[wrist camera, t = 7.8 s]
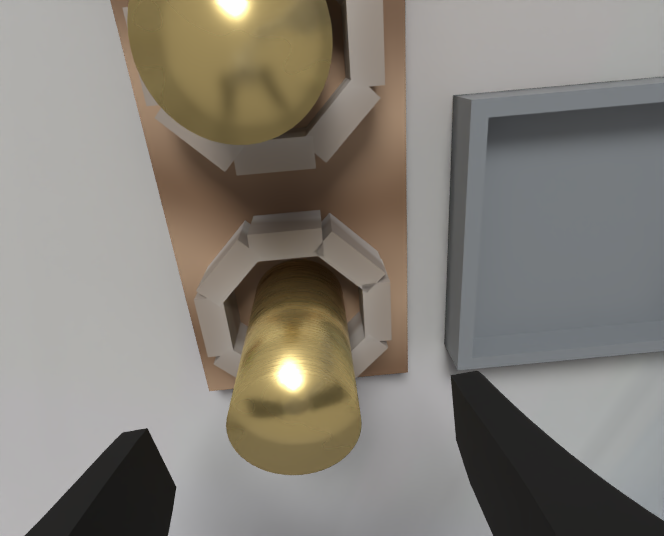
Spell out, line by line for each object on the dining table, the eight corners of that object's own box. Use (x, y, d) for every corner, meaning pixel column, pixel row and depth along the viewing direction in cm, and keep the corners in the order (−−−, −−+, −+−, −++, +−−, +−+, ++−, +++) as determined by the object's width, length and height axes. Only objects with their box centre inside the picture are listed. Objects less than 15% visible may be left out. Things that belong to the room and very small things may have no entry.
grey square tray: (749, 69, 16) (805, 70, 14) (674, 322, 21) (709, 347, 19) (453, 95, 16) (471, 99, 14) (444, 343, 21) (457, 370, 19)
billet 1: (316, -22, 13) (323, -94, 7) (326, 103, 15) (339, 136, 9) (198, -11, 13) (100, -73, 7) (220, 113, 15) (155, 152, 9)
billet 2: (352, 268, 18) (376, 384, 11) (333, 341, 19) (344, 481, 13) (262, 252, 17) (234, 364, 11) (249, 329, 19) (219, 467, 12)
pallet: (99, -103, 13) (41, -148, 10) (395, -128, 13) (420, -179, 11) (214, 374, 21) (199, 424, 18) (402, 356, 21) (417, 403, 18)
